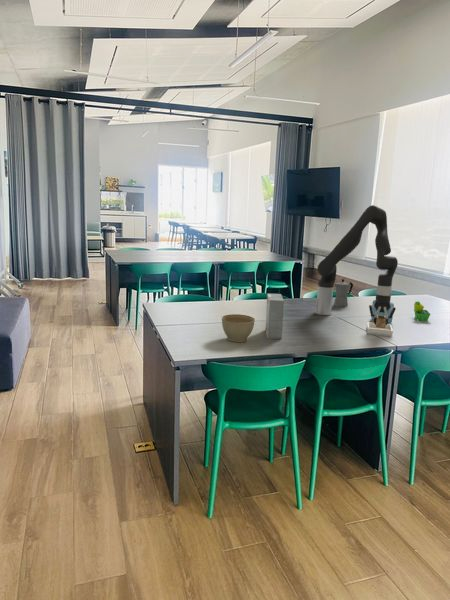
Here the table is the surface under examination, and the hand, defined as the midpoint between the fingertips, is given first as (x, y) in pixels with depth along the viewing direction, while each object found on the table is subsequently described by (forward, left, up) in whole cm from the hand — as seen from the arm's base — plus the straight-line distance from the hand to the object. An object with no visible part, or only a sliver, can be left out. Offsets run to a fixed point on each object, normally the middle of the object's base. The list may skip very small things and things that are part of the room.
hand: (380, 324), depth 247 cm
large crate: (0, 0, -4) cm, 4 cm away
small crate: (0, 0, -1) cm, 1 cm away
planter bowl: (-68, -44, -4) cm, 81 cm away
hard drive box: (-53, -28, -4) cm, 60 cm away
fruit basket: (+25, +39, -4) cm, 47 cm away
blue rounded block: (+2, +25, -4) cm, 26 cm away
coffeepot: (-22, +59, -4) cm, 64 cm away
